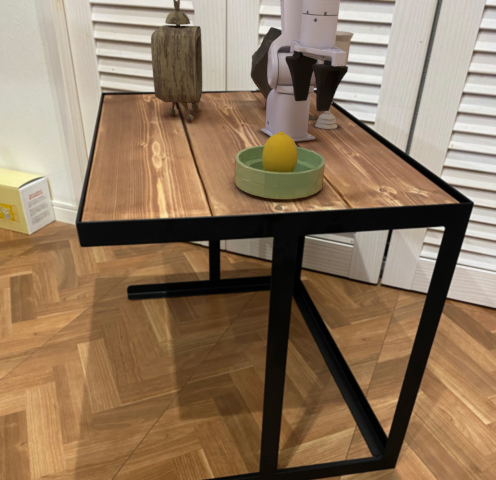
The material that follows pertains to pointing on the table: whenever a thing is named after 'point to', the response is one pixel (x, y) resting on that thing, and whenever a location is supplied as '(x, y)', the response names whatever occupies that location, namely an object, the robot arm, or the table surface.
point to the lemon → (279, 154)
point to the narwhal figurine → (264, 64)
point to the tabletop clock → (177, 62)
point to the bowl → (279, 175)
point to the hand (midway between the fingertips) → (311, 105)
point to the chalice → (343, 44)
